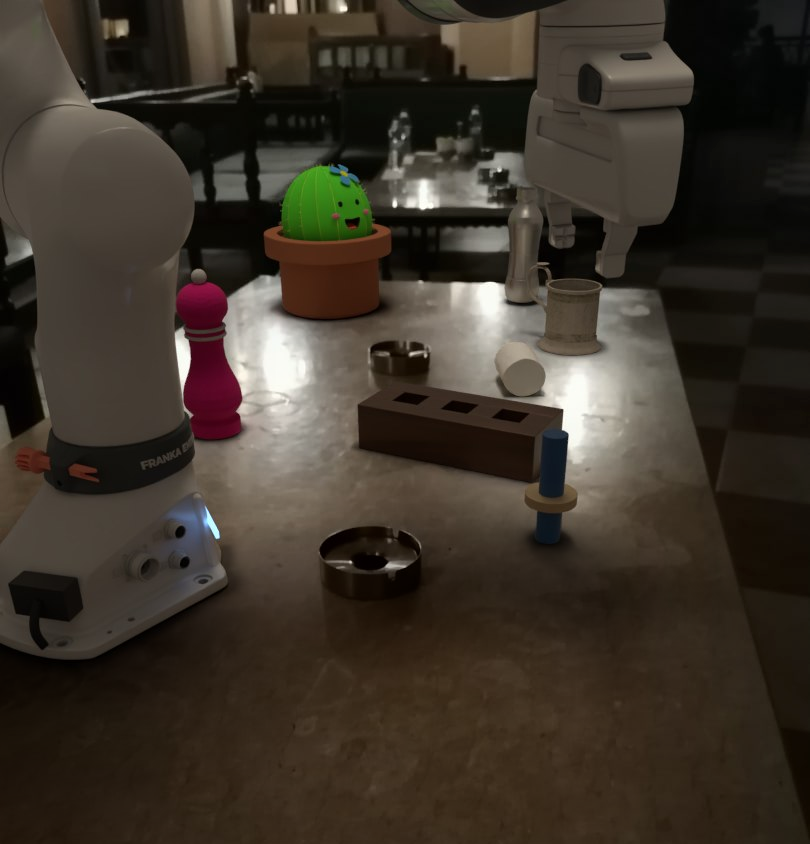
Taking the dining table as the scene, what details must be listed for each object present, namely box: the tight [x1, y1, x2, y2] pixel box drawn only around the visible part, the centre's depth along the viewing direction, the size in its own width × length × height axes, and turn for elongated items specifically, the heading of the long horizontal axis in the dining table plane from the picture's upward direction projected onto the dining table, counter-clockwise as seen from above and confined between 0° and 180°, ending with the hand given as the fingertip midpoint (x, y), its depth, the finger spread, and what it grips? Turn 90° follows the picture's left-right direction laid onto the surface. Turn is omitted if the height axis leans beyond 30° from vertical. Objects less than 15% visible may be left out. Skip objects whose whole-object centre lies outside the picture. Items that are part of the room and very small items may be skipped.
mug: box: [527, 261, 603, 356], centre depth 143 cm, size 14×10×12 cm
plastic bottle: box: [504, 186, 544, 304], centre depth 165 cm, size 6×7×20 cm
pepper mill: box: [175, 268, 243, 440], centre depth 110 cm, size 7×7×20 cm
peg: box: [523, 429, 579, 545], centre depth 86 cm, size 5×5×11 cm
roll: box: [493, 341, 547, 397], centre depth 128 cm, size 6×12×6 cm, turn 4°
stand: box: [357, 380, 565, 483], centre depth 107 cm, size 9×22×6 cm, turn 62°
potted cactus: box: [263, 161, 392, 320], centre depth 161 cm, size 22×22×25 cm
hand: (583, 260), depth 74 cm, fingers open, 8 cm apart
